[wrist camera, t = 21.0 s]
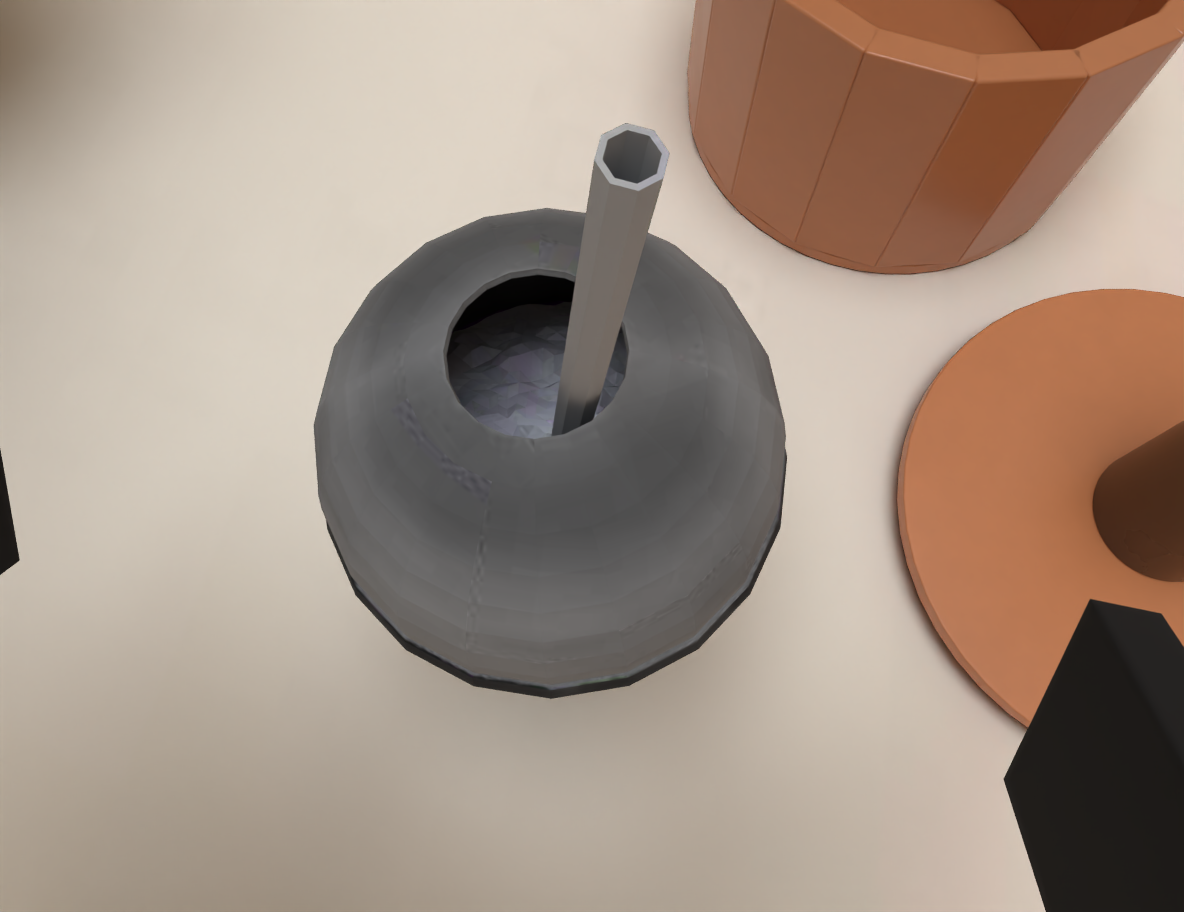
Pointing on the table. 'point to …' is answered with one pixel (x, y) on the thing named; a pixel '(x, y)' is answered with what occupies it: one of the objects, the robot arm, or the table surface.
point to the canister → (912, 115)
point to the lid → (1048, 483)
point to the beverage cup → (553, 444)
